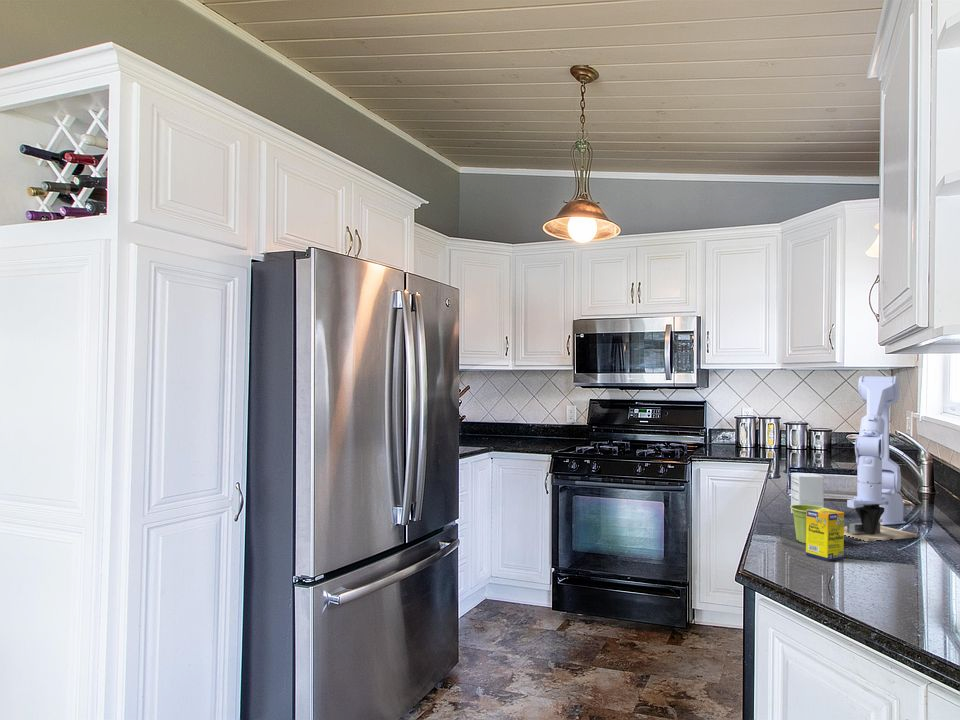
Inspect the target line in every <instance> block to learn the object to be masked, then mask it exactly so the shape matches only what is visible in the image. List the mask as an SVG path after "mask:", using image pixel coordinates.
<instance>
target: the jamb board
mask: <svg viewBox="0 0 960 720" xmlns="http://www.w3.org/2000/svg"><path fill="white" fill-rule="evenodd" d="M852 523H859V522H857V521H853V522H850V521H849V522H847V523H846V526H844V535H846V536H845V537H848V536H850V537H849V538H852V537H854V538H853V539H855V538H858V539H857V540H859V539H861V540H860V541H863V540H864V542H867V541H872V542H877V541H876V540H882V541H891V540H890V539H893V540H903V539H912V538H913V537H914V538H918V533H914V532H910V531H905V530H902V529H901V530H900V529H897V528H893V527H888V526H885V525H881V524H880V522H878V524H877V528H876V531H875V534H874V535H870V534H866V533H861V534H852V533H849V524H852Z"/></svg>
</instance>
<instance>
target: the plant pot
mask: <svg viewBox="0 0 960 720" xmlns="http://www.w3.org/2000/svg"><path fill="white" fill-rule="evenodd" d="M821 508H825V509H829V508H827V507H820V506H813V505H792V506H791V505H790V510H791V509H792V513H793V514H792V513H791V514H792V515H793V523H794V531H795V537H796V541H798V542H799V543H801V542H802V544H806V510H807V509H809V510H811V509H821Z"/></svg>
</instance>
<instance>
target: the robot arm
mask: <svg viewBox="0 0 960 720" xmlns="http://www.w3.org/2000/svg"><path fill="white" fill-rule="evenodd" d="M899 379H900V378H899V377H898V376H896V375H893V376H885V375H884V376H882V375H877V376H875V375H874V376H873V375H871V376H870V375H866V376H865V375H860V377H859V378H858V383H857V384H858V388H857V389H858V396H860V399H861V400H862V401H863V402H865V403H866V415H864V416H862V417H861V419H860V427H859V434H858V437H856V438H855V441H854V442H855V443H854V453H855V463H856V465H857V469H856V471H857V473H856V475H857V478H856V479H857V480H856V481H857V483H856V485H857V486H856V491H857V492H856V495H855V496H853V498H851V499H846V500H847V502H846V504H847V505H846V508H849V509H854V510H855V512H856V513H857V514H858V516H859V521H860V523H862V526H863V530H864V533H866V534H870V535H874V534H875V531H876V528H877V524H878V521H879V519H882V522H880V526H886V525H887V526H889V525H899V524H901V525H902V524H906V523H907V521H906V520H904V500H903V497H902V495H901V494H900V493H899V492H900V491H901V488H902V473H901V467H900V465H899V464H898V463H897V462H895V461H894V460H892V459H891V458H890V409H891V406H892V404H895V403H899V400H900V399H899V398H900V397H899V396H900V380H899Z"/></svg>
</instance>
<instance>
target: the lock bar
mask: <svg viewBox="0 0 960 720" xmlns="http://www.w3.org/2000/svg"><path fill="white" fill-rule="evenodd" d="M878 522H882V519H879V521H878ZM849 533H852V534H861V533H864V530H863V526H862V523H861V522H858V523H852V524H849Z"/></svg>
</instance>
